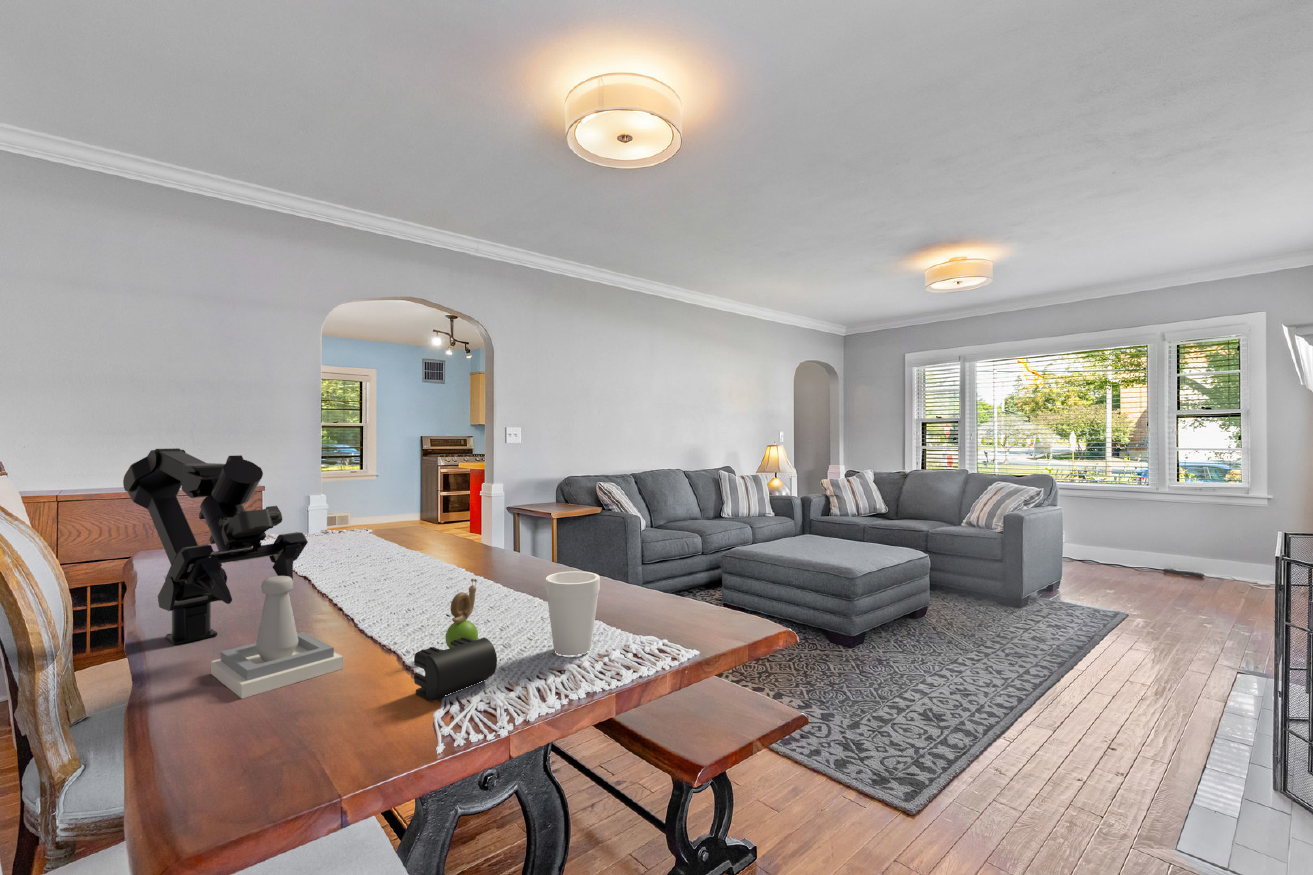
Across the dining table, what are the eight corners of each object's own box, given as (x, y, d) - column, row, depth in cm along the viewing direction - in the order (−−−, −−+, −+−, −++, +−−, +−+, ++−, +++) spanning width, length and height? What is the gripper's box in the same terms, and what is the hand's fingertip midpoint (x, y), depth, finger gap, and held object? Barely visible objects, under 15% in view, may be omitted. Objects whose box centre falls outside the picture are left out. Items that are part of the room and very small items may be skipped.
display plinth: (211, 673, 94) (211, 651, 94) (306, 648, 104) (307, 629, 104) (241, 698, 85) (241, 674, 85) (342, 668, 96) (342, 647, 96)
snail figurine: (487, 646, 106) (487, 579, 106) (464, 658, 100) (465, 588, 100) (462, 642, 108) (462, 577, 108) (438, 654, 102) (438, 585, 102)
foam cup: (534, 651, 104) (534, 577, 104) (575, 637, 111) (575, 568, 111) (569, 665, 98) (569, 587, 98) (610, 650, 105) (610, 577, 104)
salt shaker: (306, 655, 96) (306, 575, 96) (268, 667, 91) (268, 583, 91) (285, 649, 99) (285, 571, 99) (248, 660, 94) (248, 578, 94)
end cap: (438, 709, 82) (438, 660, 82) (411, 695, 86) (411, 649, 86) (497, 685, 90) (498, 641, 90) (470, 673, 94) (470, 631, 94)
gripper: (179, 496, 92) (213, 577, 86) (302, 487, 108) (337, 555, 102) (156, 541, 96) (187, 621, 90) (278, 526, 112) (311, 593, 106)
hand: (261, 595), depth 97 cm, fingers open, 9 cm apart
